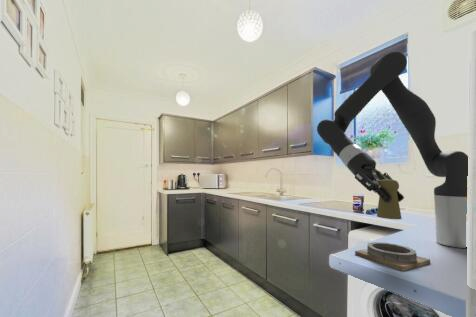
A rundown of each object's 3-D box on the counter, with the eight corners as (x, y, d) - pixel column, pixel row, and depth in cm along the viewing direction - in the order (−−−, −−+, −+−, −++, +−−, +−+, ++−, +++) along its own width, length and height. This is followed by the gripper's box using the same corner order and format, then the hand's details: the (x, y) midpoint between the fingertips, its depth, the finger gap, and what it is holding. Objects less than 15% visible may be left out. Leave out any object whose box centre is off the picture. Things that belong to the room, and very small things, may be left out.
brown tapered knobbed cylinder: (378, 214, 70) (377, 179, 71) (402, 217, 66) (401, 179, 67) (375, 217, 65) (374, 179, 66) (400, 220, 62) (399, 179, 62)
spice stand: (382, 249, 73) (381, 239, 74) (430, 263, 62) (429, 252, 62) (355, 254, 68) (354, 244, 68) (402, 271, 56) (402, 258, 56)
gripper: (348, 150, 71) (389, 191, 59) (377, 153, 77) (419, 191, 65) (335, 167, 75) (370, 209, 63) (363, 169, 81) (400, 207, 70)
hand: (395, 200), depth 65 cm, fingers closed on brown tapered knobbed cylinder, 5 cm apart
